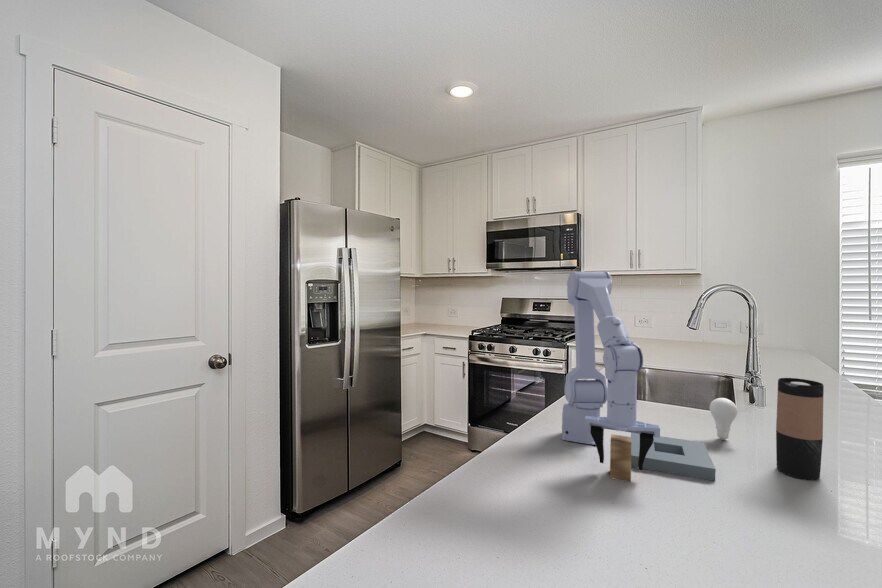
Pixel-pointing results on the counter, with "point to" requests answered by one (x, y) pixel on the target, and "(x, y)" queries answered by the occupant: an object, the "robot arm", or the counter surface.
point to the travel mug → (799, 428)
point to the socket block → (675, 457)
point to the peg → (620, 457)
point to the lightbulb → (723, 415)
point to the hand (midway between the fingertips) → (620, 464)
